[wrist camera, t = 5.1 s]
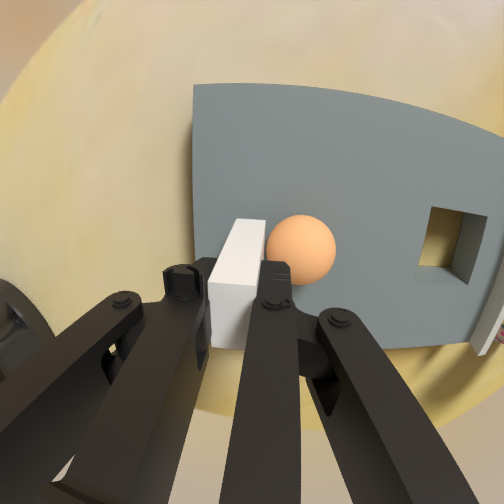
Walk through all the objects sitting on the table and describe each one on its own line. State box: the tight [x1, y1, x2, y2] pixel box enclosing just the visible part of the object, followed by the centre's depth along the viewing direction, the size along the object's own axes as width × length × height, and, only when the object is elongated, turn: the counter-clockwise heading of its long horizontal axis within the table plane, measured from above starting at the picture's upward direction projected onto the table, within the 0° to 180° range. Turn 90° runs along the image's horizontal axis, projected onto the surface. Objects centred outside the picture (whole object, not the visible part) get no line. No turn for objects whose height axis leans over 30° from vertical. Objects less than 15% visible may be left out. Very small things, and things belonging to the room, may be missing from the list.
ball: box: [266, 215, 336, 285], centre depth 15 cm, size 4×4×4 cm
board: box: [192, 83, 504, 356], centre depth 16 cm, size 24×17×5 cm
